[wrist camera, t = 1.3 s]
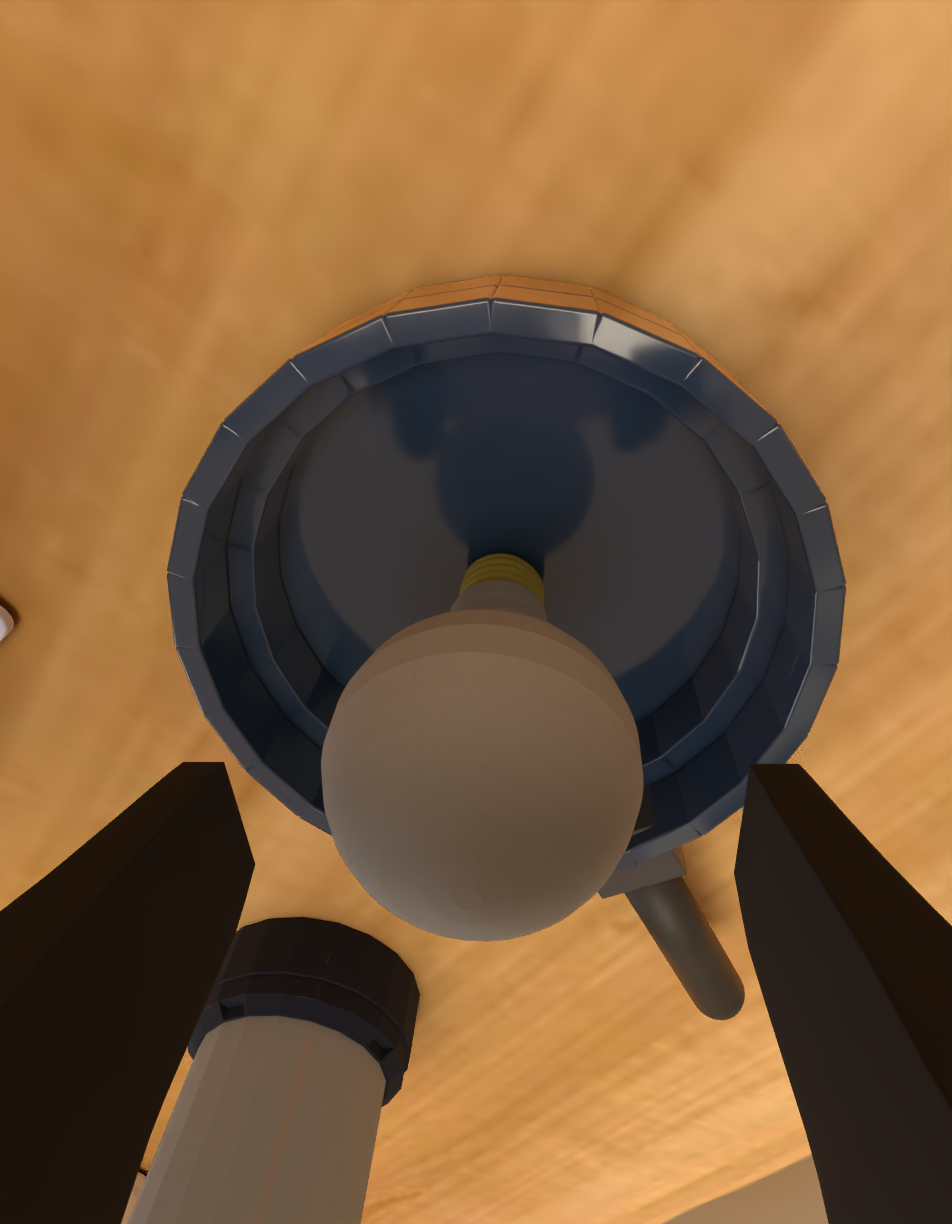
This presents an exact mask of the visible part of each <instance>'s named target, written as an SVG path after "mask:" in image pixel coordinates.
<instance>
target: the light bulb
mask: <svg viewBox="0 0 952 1224" xmlns="http://www.w3.org/2000/svg"><path fill="white" fill-rule="evenodd" d="M321 773H322V787H323V801H324V808H325V813H326V817H327V820H328V823H329V826H330V829H331V832H332V836H333V839H334V842H335V845H336V847H337V849H338V851H339V854H340V856H341V857H342V859H343V861H344V862H345V864H346V865H347V867H348V868H349V869H350V871H351V872H352V873H353V875H354V876H355V877H356V879H357V880H358V881H359V883H360V884H361V885H362V886H363V888H364V889H365V890H366V891H367V892H368V893H369V894H370V896H371V897H372V898H374V899H375V900H376V901H377V902H378V903H379V904H380V905H382V906H383V907H384V908H385V909H387V910H388V911H390V912H391V913H392V914H394V915H395V916H397V917H398V918H400V919H402V920H404V921H406V922H407V923H409V924H411V925H413V926H415V927H417V928H420V929H422V930H425V931H427V932H430V933H433V934H437V935H440V936H443V937H448V938H454V939H460V940H466V941H498V940H508V939H513V938H517V937H521V936H525V935H529V934H532V933H535V932H537V931H540V930H542V929H545V928H547V927H550V926H552V925H554V924H556V923H558V922H559V921H561V920H563V919H564V918H566V917H567V916H569V915H570V914H571V913H573V912H574V911H575V910H577V909H578V908H579V907H580V906H582V905H583V904H584V903H585V902H587V901H588V900H589V899H590V898H591V897H593V896H594V895H595V894H596V893H597V892H598V891H599V890H600V889H601V888H602V886H603V885H604V884H605V883H606V882H607V880H608V879H609V877H610V876H611V874H612V873H613V871H614V869H615V868H616V866H617V864H618V863H619V861H620V860H621V858H622V856H623V854H624V852H625V850H626V849H627V847H628V844H629V841H630V839H631V836H632V833H633V830H634V826H635V823H636V820H637V817H638V813H639V810H640V806H641V802H642V797H643V769H642V761H641V752H640V744H639V737H638V732H637V727H636V724H635V721H634V718H633V715H632V713H631V711H630V709H629V706H628V704H627V703H626V701H625V699H624V697H623V695H622V694H621V692H620V690H619V688H618V686H617V685H616V683H615V681H614V679H613V678H612V676H611V674H610V673H609V671H608V670H607V669H606V667H605V666H604V665H603V663H602V662H601V661H600V660H599V659H598V658H597V657H596V656H595V655H594V654H593V653H592V652H591V651H590V650H589V649H588V648H587V647H585V646H584V645H583V644H582V643H580V642H579V641H578V640H576V639H575V638H573V637H572V636H570V635H569V634H567V633H566V632H564V631H562V630H561V629H559V628H557V627H555V626H554V625H552V624H550V623H548V620H547V615H546V612H545V609H544V586H543V582H542V579H541V578H540V576H539V574H538V573H537V571H536V570H535V569H534V568H533V567H532V566H531V565H530V564H529V563H527V562H526V561H524V560H523V559H521V558H519V557H517V556H514V555H510V554H505V553H496V554H490V555H487V556H484V557H482V558H480V559H478V560H476V561H475V562H474V563H472V564H471V565H470V567H469V568H468V569H467V571H466V573H465V575H464V577H463V580H462V583H461V589H460V592H459V596H458V598H457V599H456V600H455V602H454V603H453V605H452V608H451V610H450V612H446V613H442V614H439V615H436V616H433V617H430V618H427V619H425V620H422V621H419V622H417V623H415V624H413V625H411V626H408V627H406V628H404V629H403V630H401V631H400V632H398V633H396V634H395V635H393V636H392V637H391V638H389V639H388V640H387V641H385V642H384V643H383V644H382V645H381V646H380V647H379V648H378V649H377V650H376V651H375V652H374V653H373V654H372V655H371V656H370V657H369V659H368V660H367V661H366V662H365V663H364V664H363V665H362V666H361V668H360V669H359V670H358V671H357V672H356V673H355V675H354V676H353V677H352V678H351V679H350V681H349V683H348V684H347V686H346V687H345V689H344V690H343V692H342V694H341V697H340V699H339V701H338V703H337V706H336V709H335V712H334V715H333V718H332V720H331V723H330V726H329V729H328V732H327V735H326V738H325V741H324V745H323V750H322V758H321Z"/></svg>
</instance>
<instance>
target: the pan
mask: <svg viewBox="0 0 952 1224" xmlns="http://www.w3.org/2000/svg"><path fill="white" fill-rule="evenodd" d="M182 495H183V496H182V497H181V500H180V506H179V511H178V516H177V521H176V526H175V531H174V537H173V542H172V547H171V552H170V557H169V562H168V568H167V572H168V574H167V580H168V589H169V598H170V607H171V616H172V625H173V634H174V642H175V646H176V651H177V653H178V655H179V658H180V660H181V663H182V665H183V668H184V670H185V672H186V675H187V677H188V680H189V682H190V685H191V687H192V690H193V692H194V694H195V697H196V699H197V702H198V704H199V707H200V709H201V711H202V712H203V713H204V716H205V718H206V719H207V720H208V722H209V723H210V725H211V726H212V727H213V729H214V730H215V731H216V733H217V734H218V735H219V737H220V738H221V739H222V741H223V742H224V743H225V745H226V746H227V747H228V749H229V750H230V752H231V753H232V754H233V756H234V757H235V758H236V760H237V761H238V762H239V764H240V765H241V766H242V768H243V769H246V772H247V773H248V774H249V775H250V776H251V777H252V778H254V779H255V780H256V781H257V782H258V783H259V784H261V785H262V786H263V787H264V788H265V789H266V790H268V791H269V792H270V793H271V794H272V795H273V796H274V797H276V798H277V799H278V800H279V801H280V802H281V803H283V804H284V805H285V806H286V807H287V808H288V809H290V810H291V811H292V812H293V813H294V814H295V815H297V816H299V817H300V818H301V819H303V820H305V821H307V822H308V823H310V824H312V825H314V826H315V827H317V828H319V829H321V830H323V831H324V832H326V833H328V834H330V835H332V832H331V829H330V826H329V823H328V820H327V817H326V813H325V808H324V801H323V787H322V773H321V758H322V750H323V745H324V741H325V738H326V735H327V732H328V729H329V726H330V723H331V720H332V718H333V715H334V712H335V709H336V706H337V703H338V701H339V699H340V697H341V694H342V692H343V690H344V689H345V687H346V686H347V684H348V683H349V681H350V679H351V678H352V677H353V676H354V675H355V673H356V672H357V671H358V670H359V669H360V668H361V666H362V665H363V664H364V663H365V662H366V661H367V660H368V659H369V657H370V656H371V655H372V654H373V653H374V652H375V651H376V650H377V649H378V648H379V647H380V646H381V645H382V644H383V643H384V642H385V641H387V640H388V639H389V638H391V637H392V636H393V635H395V634H396V633H398V632H400V631H401V630H403V629H404V628H406V627H408V626H411V625H413V624H415V623H417V622H419V621H422V620H425V619H427V618H430V617H433V616H436V615H439V614H442V613H446V612H450V610H451V608H452V605H453V603H454V602H455V600H456V599H457V598H458V596H459V592H460V589H461V583H462V580H463V577H464V575H465V573H466V571H467V569H468V568H469V567H470V565H471V564H472V563H474V562H475V561H476V560H478V559H480V558H482V557H484V556H487V555H490V554H496V553H505V554H510V555H514V556H517V557H519V558H521V559H523V560H524V561H526V562H527V563H529V564H530V565H531V566H532V567H533V568H534V569H535V570H536V571H537V573H538V574H539V576H540V578H541V579H542V582H543V586H544V609H545V612H546V615H547V620H548V623H550V624H552V625H554V626H555V627H557V628H559V629H561V630H562V631H564V632H566V633H567V634H569V635H570V636H572V637H573V638H575V639H576V640H578V641H579V642H580V643H582V644H583V645H584V646H585V647H587V648H588V649H589V650H590V651H591V652H592V653H593V654H594V655H595V656H596V657H597V658H598V659H599V660H600V661H601V662H602V663H603V665H604V666H605V667H606V669H607V670H608V671H609V673H610V674H611V676H612V678H613V679H614V681H615V683H616V685H617V686H618V688H619V690H620V692H621V694H622V695H623V697H624V699H625V701H626V703H627V704H628V706H629V709H630V711H631V713H632V715H633V718H634V721H635V724H636V727H637V732H638V737H639V744H640V752H641V761H642V769H643V786H646V785H650V786H649V788H650V794H651V800H652V806H653V812H654V817H655V824H654V825H653V826H652V827H650V828H648V829H646V830H644V831H642V832H640V833H638V834H636V835H634V836H632V837H631V839H630V841H629V844H628V847H627V849H626V850H625V852H624V854H623V856H622V858H621V860H620V861H619V863H618V864H617V866H616V868H615V869H614V871H616V870H621V869H625V868H630V867H634V866H637V864H642V863H644V862H646V861H648V860H651V859H653V858H655V857H657V856H659V855H662V854H664V853H666V852H668V851H671V850H673V849H675V848H677V847H679V846H682V845H684V844H686V843H688V842H691V841H693V840H695V839H697V838H699V837H701V836H702V835H706V834H707V833H708V832H710V831H711V830H712V829H714V828H715V827H716V826H718V825H719V824H720V823H722V822H723V821H724V820H726V819H727V818H728V817H730V816H731V815H733V814H734V813H735V812H737V811H738V810H739V809H741V808H742V807H743V806H744V802H745V795H746V788H747V781H748V774H749V768H750V764H786V762H787V761H788V760H789V759H790V757H791V756H792V755H793V754H794V752H795V751H796V750H797V749H798V748H799V746H800V745H801V744H802V743H803V741H804V740H805V739H806V738H807V736H808V733H809V732H810V730H811V728H812V725H813V723H814V721H815V718H816V716H817V714H818V711H819V709H820V707H821V704H822V702H823V700H824V697H825V695H826V693H827V690H828V688H829V686H830V683H831V681H832V679H833V676H834V674H835V672H836V669H837V664H838V663H839V655H840V645H841V635H842V625H843V615H844V605H845V595H846V586H845V584H846V580H845V575H844V571H843V567H842V562H841V558H840V553H839V549H838V545H837V540H836V536H835V532H834V527H833V523H832V518H831V514H830V510H829V505H828V503H827V502H826V498H825V496H824V494H823V493H822V491H821V490H820V488H819V486H818V485H817V483H816V481H815V480H814V478H813V476H812V475H811V473H810V472H809V470H808V468H807V467H806V465H805V463H804V462H803V460H802V459H801V457H800V455H799V454H798V452H797V450H796V449H795V447H794V445H793V444H792V442H791V441H790V439H789V437H788V436H787V434H786V432H785V431H784V429H783V427H782V426H781V424H780V423H779V422H778V421H777V420H776V418H775V417H774V416H773V415H772V414H771V413H770V412H769V411H768V410H767V409H766V408H765V407H764V406H763V405H762V404H761V403H760V402H759V401H758V400H757V399H756V398H755V397H754V396H753V395H752V394H751V393H750V392H749V391H748V390H747V389H746V388H745V387H744V386H743V385H742V384H741V383H740V382H739V381H738V380H737V379H736V378H735V377H734V376H733V375H732V374H731V373H730V372H729V371H728V370H727V369H725V368H724V367H723V366H722V365H721V364H720V363H719V362H717V361H716V360H715V359H714V358H713V357H712V356H710V355H709V354H708V353H707V352H706V351H705V350H703V349H702V348H701V347H700V346H699V345H698V344H696V343H695V342H694V341H693V340H692V339H691V338H689V337H688V336H687V335H686V334H685V333H684V332H683V331H681V330H680V329H679V328H678V327H677V326H676V325H674V324H671V323H670V322H669V321H668V320H666V319H664V318H662V317H659V316H657V315H655V314H653V313H650V312H648V311H646V310H644V309H641V308H639V307H637V306H635V305H632V304H630V303H628V302H626V301H623V300H621V299H619V298H616V297H614V296H612V295H610V294H607V293H605V292H603V291H601V290H598V289H596V288H591V289H590V288H589V287H588V286H586V285H578V284H570V283H563V282H555V281H547V280H540V279H532V278H524V277H516V276H509V275H505V276H503V277H502V276H501V275H496V276H489V277H483V278H477V279H470V280H464V281H458V282H452V283H445V284H439V285H433V286H426V287H420V288H417V289H416V290H411V291H409V292H407V293H405V294H402V295H400V296H398V297H396V298H394V299H392V300H390V301H388V302H386V303H384V304H382V305H379V306H377V307H375V308H373V309H371V310H369V311H367V312H365V313H363V314H361V315H359V316H357V317H354V318H352V319H350V320H348V321H346V322H344V323H342V324H341V325H339V326H338V327H336V328H335V329H333V330H332V331H330V332H329V333H327V334H326V335H324V336H323V337H321V338H320V339H318V340H317V341H315V342H314V343H312V344H311V345H309V346H308V347H306V348H305V349H303V350H302V351H300V352H299V353H297V354H296V355H294V356H293V357H291V358H290V359H288V360H287V361H286V362H285V363H284V364H283V365H282V366H281V367H280V368H279V369H278V370H277V371H275V372H274V373H273V374H272V375H271V376H270V377H269V378H268V379H267V380H266V381H265V382H264V383H263V384H261V385H260V386H259V387H258V388H257V389H256V390H255V391H254V392H253V393H252V394H251V395H250V396H249V397H247V398H246V399H245V400H244V401H243V402H242V403H241V404H240V405H239V406H238V407H237V408H236V409H234V410H233V411H232V412H231V413H230V414H229V415H228V416H227V417H226V418H225V420H224V421H223V422H222V423H221V424H220V426H219V428H218V430H217V432H216V433H215V435H214V437H213V439H212V441H211V442H210V444H209V446H208V448H207V450H206V451H205V453H204V455H203V457H202V459H201V460H200V462H199V464H198V466H197V468H196V469H195V471H194V473H193V475H192V477H191V478H190V480H189V482H188V484H187V486H186V487H185V489H184V491H183V494H182Z"/></svg>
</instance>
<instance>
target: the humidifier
mask: <svg viewBox="0 0 952 1224" xmlns="http://www.w3.org/2000/svg"><path fill="white" fill-rule="evenodd" d="M419 996H420V994H419V991H418V988H417V985H416V982H415V979H414V976H413V973H412V972H411V971H410V970H409V969H408V967H407V966H406V965H405V964H404V963H403V962H402V960H401V959H400V958H399V957H398V956H397V954H396V953H394V952H393V951H391V950H390V949H388V948H387V947H385V946H384V945H382V944H381V943H379V942H378V941H376V940H375V939H373V938H372V937H371V936H368V935H366V934H363V933H360V932H358V931H355V930H353V929H350V928H348V927H345V926H343V925H340V924H336V923H330V922H325V921H319V920H313V919H307V918H289V919H270V920H267V921H263V922H260V923H257V924H253V925H250V926H247V927H244V928H242V929H241V930H239V931H238V932H237V933H235V935H234V938H233V940H232V943H231V945H230V948H229V950H228V953H227V955H226V957H225V960H224V962H223V964H222V967H221V969H220V971H219V974H218V976H217V979H216V981H215V983H214V986H213V988H212V990H211V993H210V995H209V997H208V1000H207V1002H206V1004H205V1007H204V1009H203V1011H202V1014H201V1016H200V1018H199V1020H198V1023H197V1025H196V1027H195V1030H194V1032H193V1034H192V1037H191V1039H190V1041H189V1044H188V1052H189V1054H190V1056H191V1057H192V1059H193V1063H192V1065H191V1068H190V1070H189V1073H188V1075H187V1078H186V1080H185V1082H184V1085H183V1087H182V1090H181V1092H180V1095H179V1097H178V1100H177V1102H176V1105H175V1107H174V1110H173V1112H172V1115H171V1117H170V1119H169V1122H168V1124H167V1127H166V1129H165V1132H164V1134H163V1137H162V1139H161V1142H160V1144H159V1147H158V1149H157V1151H156V1154H155V1156H154V1159H153V1161H152V1164H151V1166H150V1169H149V1171H148V1174H147V1176H146V1179H145V1181H144V1184H143V1186H142V1188H141V1191H140V1193H139V1196H138V1198H137V1201H136V1203H135V1206H134V1208H133V1211H132V1213H131V1216H130V1218H129V1220H128V1223H127V1224H360V1223H361V1218H362V1212H363V1207H364V1201H365V1196H366V1190H367V1185H368V1179H369V1173H370V1168H371V1162H372V1157H373V1151H374V1146H375V1140H376V1135H377V1129H378V1124H379V1118H380V1113H381V1107H383V1106H384V1105H386V1104H388V1103H389V1102H390V1101H391V1099H392V1098H393V1097H394V1096H395V1095H396V1094H397V1093H398V1091H399V1090H400V1089H401V1086H402V1081H403V1075H404V1073H405V1071H406V1070H407V1069H408V1063H409V1058H410V1053H411V1047H412V1040H413V1034H414V1028H415V1021H416V1015H417V1009H418V1003H419Z"/></svg>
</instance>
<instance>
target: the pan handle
mask: <svg viewBox="0 0 952 1224" xmlns="http://www.w3.org/2000/svg"><path fill="white" fill-rule="evenodd" d="M649 786H650V785H646V786H643V797H642V802H641V806H640V810H639V813H638V817H637V820H636V823H635V826H634V830H633V833H632V836H634V835H636V834H638V833H640V832H642V831H644V830H646V829H648V828H650V827H652V826H653V825H654V824H655V817H654V812H653V806H652V800H651V794H650V788H649ZM632 836H631V837H632ZM684 875H686V868H685V863H684V859H683V854H682V849H681V846H679V847H677V848H675V849H673V850H671V851H668V852H666V853H664V854H662V855H659V856H657V857H655V858H653V859H651V860H648V861H646V862H644V863H642V864H637V866H634V867H630V868H625V869H621V870H616V871H613V873H612V874H611V876H610V877H609V879H608V880H607V882H606V883H605V884H604V885H603V886H602V888H601V889H600V890H599V891H598V893H599V894H600V896H601V897H602V898H607V897H611V896H614V895H618V894H621V893H625V895H626V896H627V898H628V899H629V901H630V903H631V904H632V906H633V907H634V909H635V910H636V912H637V914H638V915H639V917H640V918H641V920H642V922H643V923H644V925H645V926H646V928H647V929H648V931H649V933H650V934H651V936H652V937H653V939H654V940H655V942H656V944H657V945H658V947H659V948H660V950H661V952H662V953H663V955H664V956H665V958H666V959H667V961H668V963H669V964H670V966H671V967H672V969H673V970H674V972H675V974H676V975H677V977H678V978H679V980H680V982H681V983H682V985H683V986H684V988H685V989H686V991H687V993H688V994H689V996H690V997H691V999H692V1000H693V1002H694V1004H695V1005H696V1007H697V1008H698V1009H699V1010H700V1011H701V1012H702V1013H703V1014H704V1015H706V1016H708V1017H710V1018H712V1019H716V1020H727V1019H730V1018H732V1017H734V1016H735V1015H736V1014H738V1012H739V1011H740V1010H741V1008H742V1006H743V1003H744V999H745V992H744V986H743V984H742V981H741V979H740V977H739V975H738V974H737V972H736V970H735V968H734V967H733V965H732V963H731V961H730V960H729V958H728V956H727V954H726V953H725V951H724V949H723V948H722V946H721V944H720V942H719V941H718V939H717V937H716V935H715V934H714V932H713V930H712V928H711V927H710V925H709V923H708V921H707V920H706V918H705V916H704V915H703V913H702V911H701V909H700V908H699V906H698V904H697V902H696V901H695V899H694V897H693V895H692V894H691V892H690V890H689V889H688V887H687V885H686V883H685V882H684V880H683V878H682V876H684Z"/></svg>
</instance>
